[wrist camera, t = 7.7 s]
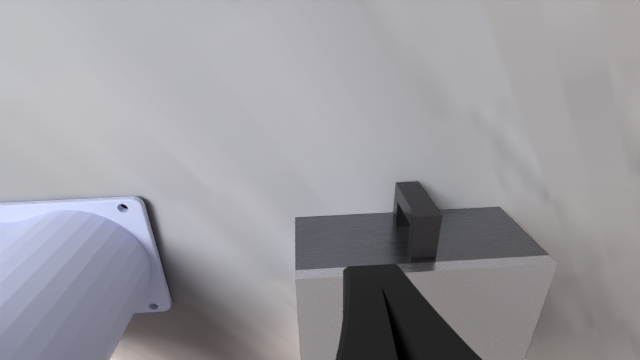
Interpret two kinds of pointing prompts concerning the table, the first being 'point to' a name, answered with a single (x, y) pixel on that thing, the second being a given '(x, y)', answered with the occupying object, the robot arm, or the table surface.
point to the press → (427, 271)
